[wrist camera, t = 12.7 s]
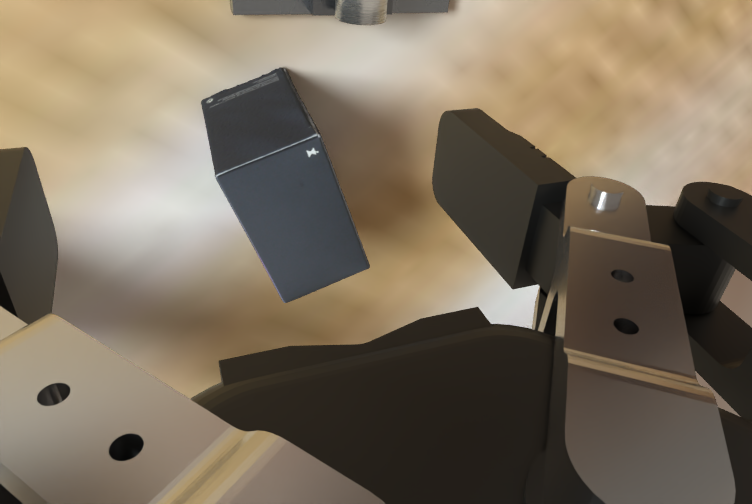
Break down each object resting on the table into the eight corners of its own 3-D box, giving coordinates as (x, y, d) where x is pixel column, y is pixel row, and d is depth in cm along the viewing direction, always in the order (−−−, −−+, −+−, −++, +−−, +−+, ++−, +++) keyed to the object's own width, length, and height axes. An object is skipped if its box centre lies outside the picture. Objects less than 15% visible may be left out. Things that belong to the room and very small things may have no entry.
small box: (192, 100, 38) (207, 176, 30) (284, 63, 39) (323, 127, 31) (255, 221, 45) (281, 309, 37) (333, 188, 46) (375, 268, 38)
